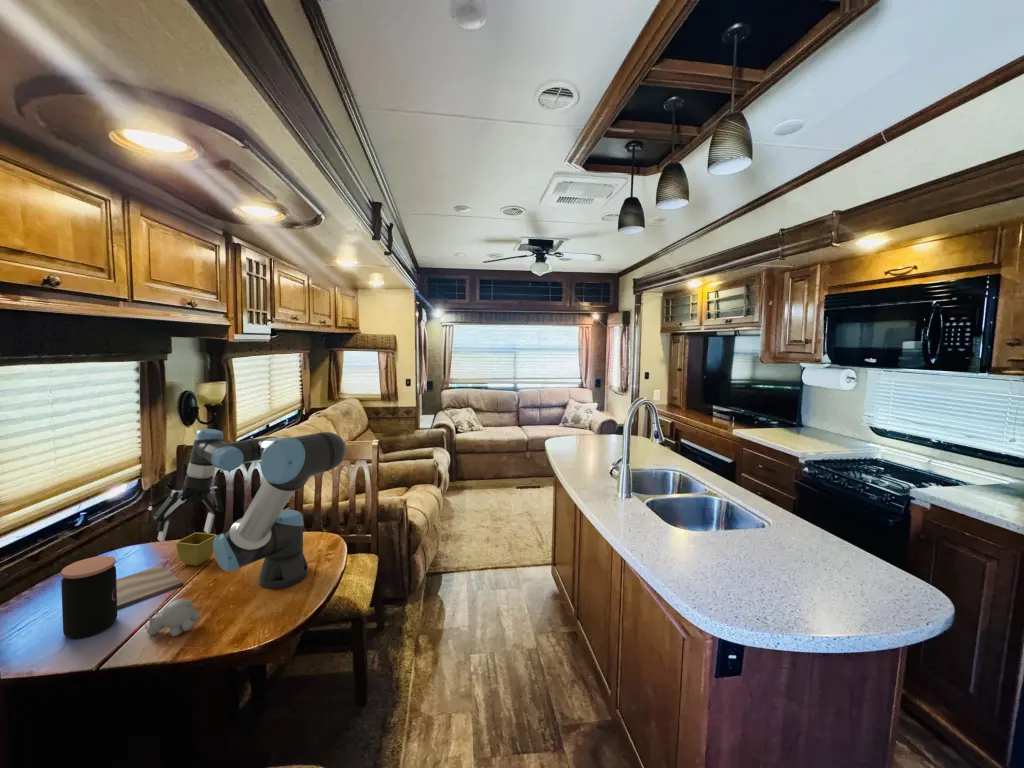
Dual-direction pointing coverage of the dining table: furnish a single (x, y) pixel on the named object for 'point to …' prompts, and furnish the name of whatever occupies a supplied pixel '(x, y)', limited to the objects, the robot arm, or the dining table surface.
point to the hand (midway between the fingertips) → (184, 536)
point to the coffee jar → (89, 596)
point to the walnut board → (145, 585)
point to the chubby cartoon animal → (174, 618)
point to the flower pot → (195, 548)
